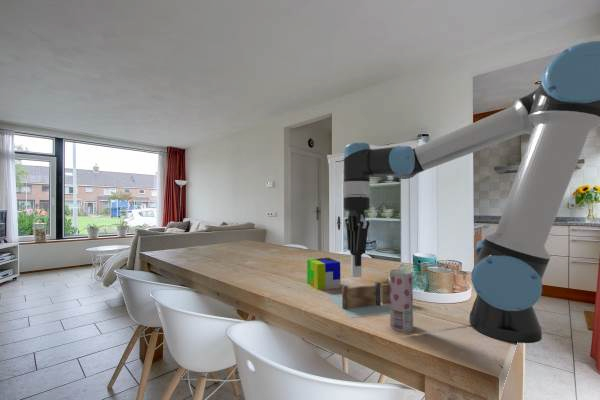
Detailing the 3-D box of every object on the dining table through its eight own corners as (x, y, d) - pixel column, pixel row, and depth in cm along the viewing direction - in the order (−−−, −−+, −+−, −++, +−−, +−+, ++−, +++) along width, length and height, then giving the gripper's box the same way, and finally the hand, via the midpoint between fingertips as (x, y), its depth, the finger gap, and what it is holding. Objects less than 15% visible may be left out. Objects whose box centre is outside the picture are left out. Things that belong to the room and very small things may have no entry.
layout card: (417, 310, 86) (417, 309, 86) (352, 319, 80) (352, 317, 80) (382, 291, 105) (382, 289, 105) (326, 296, 99) (326, 295, 99)
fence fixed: (400, 300, 93) (400, 280, 93) (403, 301, 92) (403, 281, 92) (380, 302, 91) (380, 282, 91) (383, 304, 89) (383, 283, 90)
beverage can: (407, 323, 77) (406, 268, 77) (417, 333, 71) (416, 274, 71) (387, 323, 76) (386, 269, 77) (395, 333, 71) (394, 274, 71)
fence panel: (378, 303, 91) (378, 281, 91) (381, 305, 89) (381, 283, 89) (341, 307, 87) (341, 285, 88) (343, 309, 86) (343, 287, 86)
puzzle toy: (340, 287, 110) (340, 262, 110) (317, 290, 106) (317, 264, 106) (328, 281, 119) (328, 257, 119) (307, 283, 116) (307, 259, 116)
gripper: (378, 196, 77) (378, 282, 77) (359, 196, 89) (359, 270, 89) (352, 195, 75) (352, 283, 75) (337, 196, 88) (337, 271, 88)
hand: (356, 276), depth 82 cm, fingers closed
